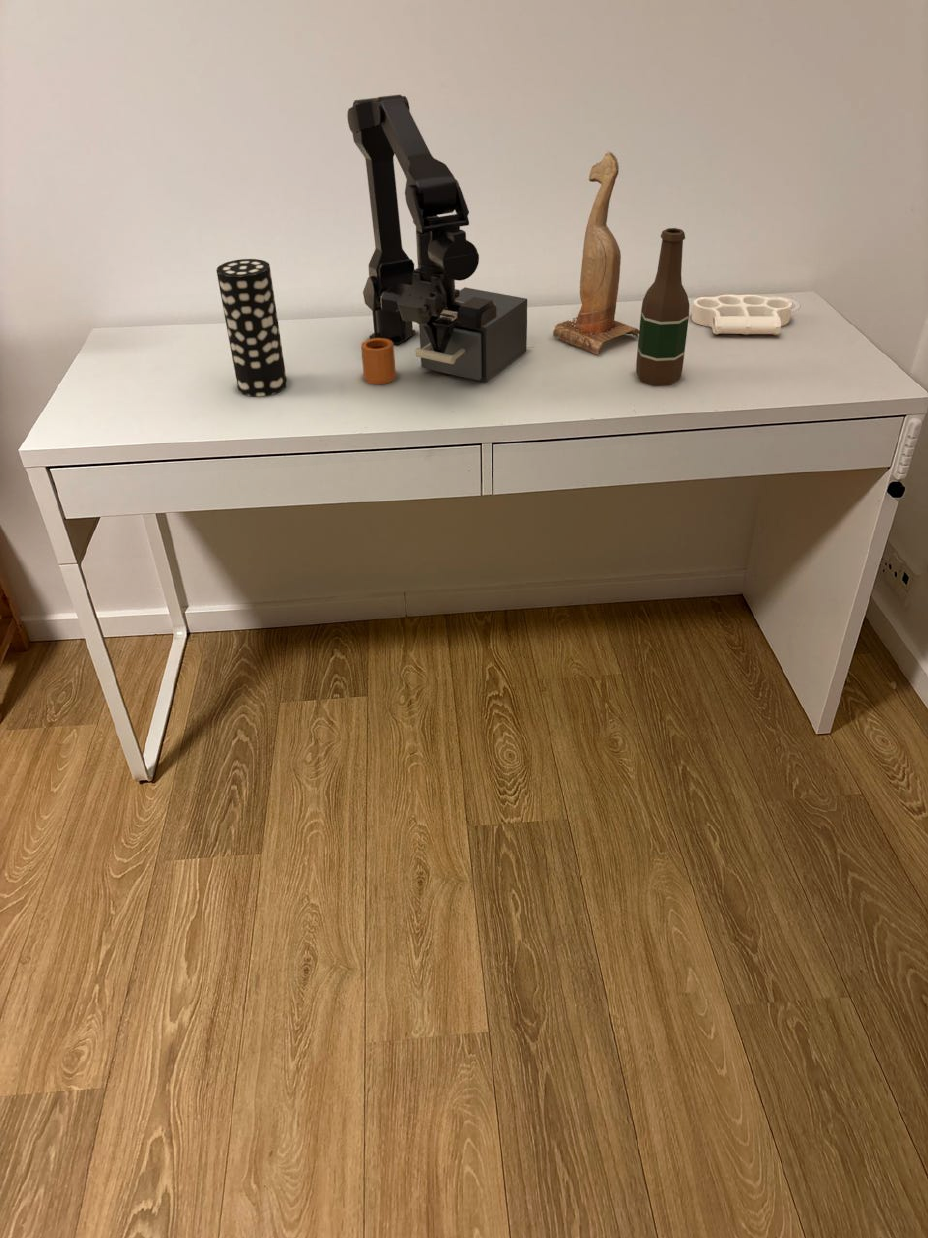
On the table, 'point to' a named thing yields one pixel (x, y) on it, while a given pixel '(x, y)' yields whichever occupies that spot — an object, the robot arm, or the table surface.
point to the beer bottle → (664, 317)
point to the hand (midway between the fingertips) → (440, 356)
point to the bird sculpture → (598, 272)
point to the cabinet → (500, 330)
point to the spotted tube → (252, 326)
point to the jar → (378, 360)
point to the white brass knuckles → (742, 314)
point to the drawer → (454, 353)
